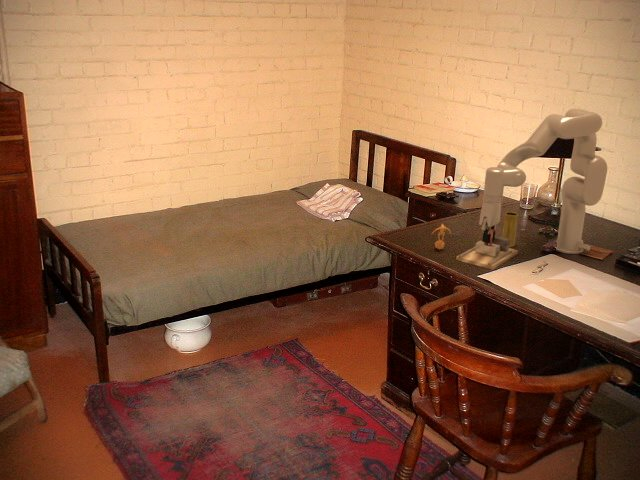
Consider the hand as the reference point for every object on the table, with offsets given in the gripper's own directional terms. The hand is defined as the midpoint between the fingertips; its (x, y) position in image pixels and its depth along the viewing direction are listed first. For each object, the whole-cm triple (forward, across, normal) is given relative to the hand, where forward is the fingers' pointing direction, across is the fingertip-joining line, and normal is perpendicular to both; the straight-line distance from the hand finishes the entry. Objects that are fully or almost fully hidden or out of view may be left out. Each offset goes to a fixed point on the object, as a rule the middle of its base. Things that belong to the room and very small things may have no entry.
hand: (488, 240), depth 270 cm
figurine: (+7, +5, -19) cm, 21 cm away
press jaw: (+5, 0, 0) cm, 5 cm away
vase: (+7, -21, 0) cm, 22 cm away
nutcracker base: (+7, -1, 0) cm, 7 cm away
